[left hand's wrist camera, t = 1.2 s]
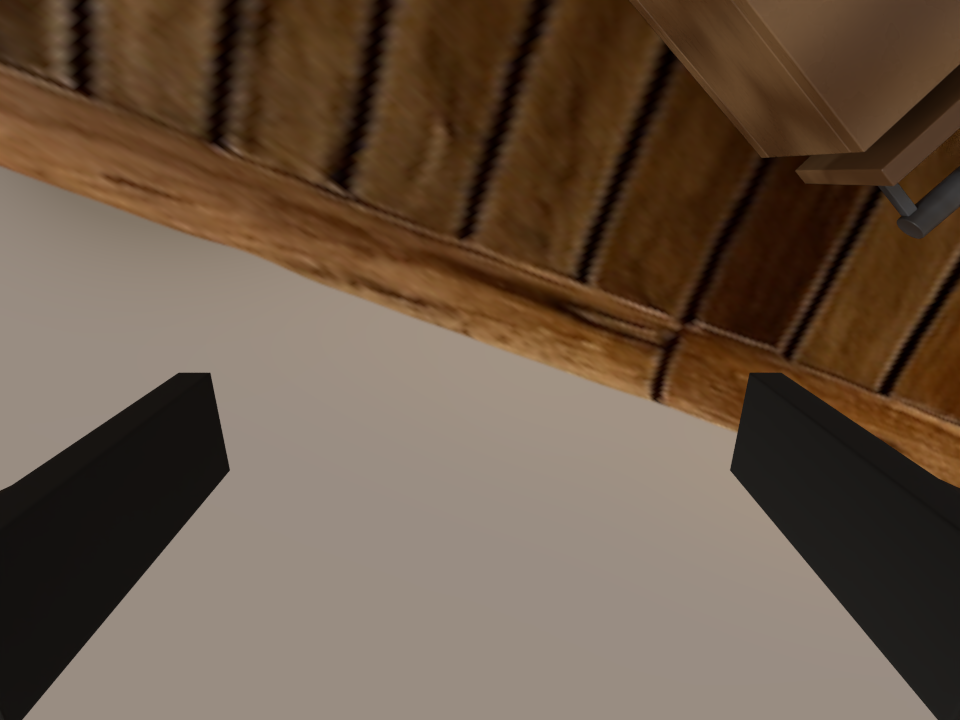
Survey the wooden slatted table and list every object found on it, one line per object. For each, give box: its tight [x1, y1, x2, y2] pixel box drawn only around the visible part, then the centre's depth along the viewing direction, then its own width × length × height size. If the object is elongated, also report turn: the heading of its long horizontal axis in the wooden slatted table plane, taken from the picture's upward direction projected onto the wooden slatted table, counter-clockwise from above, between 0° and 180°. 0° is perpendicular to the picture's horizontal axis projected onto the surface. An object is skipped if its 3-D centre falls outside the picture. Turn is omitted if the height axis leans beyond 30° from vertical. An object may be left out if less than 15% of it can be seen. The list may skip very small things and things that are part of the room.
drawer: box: [796, 64, 960, 238], centre depth 27 cm, size 26×9×8 cm, turn 48°
